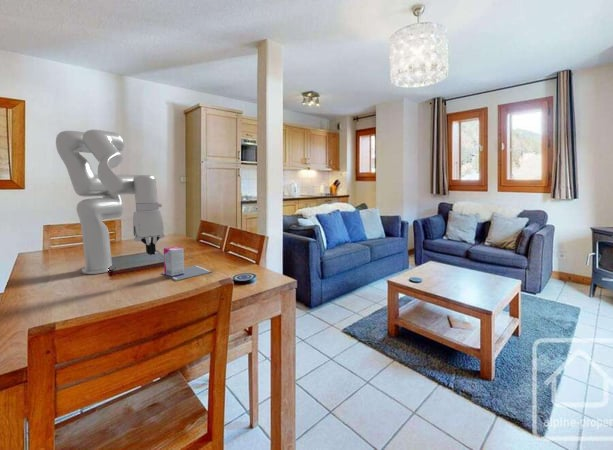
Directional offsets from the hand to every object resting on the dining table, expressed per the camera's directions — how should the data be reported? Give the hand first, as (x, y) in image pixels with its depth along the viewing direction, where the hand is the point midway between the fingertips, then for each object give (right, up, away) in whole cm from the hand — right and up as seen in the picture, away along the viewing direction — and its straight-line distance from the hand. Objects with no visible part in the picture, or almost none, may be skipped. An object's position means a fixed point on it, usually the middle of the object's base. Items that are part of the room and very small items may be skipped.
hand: (151, 254), depth 118 cm
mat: (+9, -9, +13) cm, 18 cm away
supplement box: (+5, -10, +9) cm, 14 cm away
